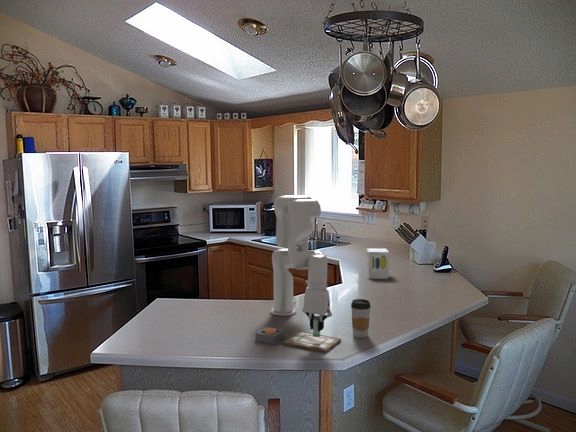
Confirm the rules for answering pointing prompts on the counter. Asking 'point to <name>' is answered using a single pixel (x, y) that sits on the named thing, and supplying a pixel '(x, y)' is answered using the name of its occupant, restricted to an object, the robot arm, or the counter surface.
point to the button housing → (270, 336)
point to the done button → (270, 331)
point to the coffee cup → (360, 317)
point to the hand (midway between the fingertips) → (316, 328)
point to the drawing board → (312, 342)
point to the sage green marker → (316, 326)
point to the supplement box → (377, 263)
